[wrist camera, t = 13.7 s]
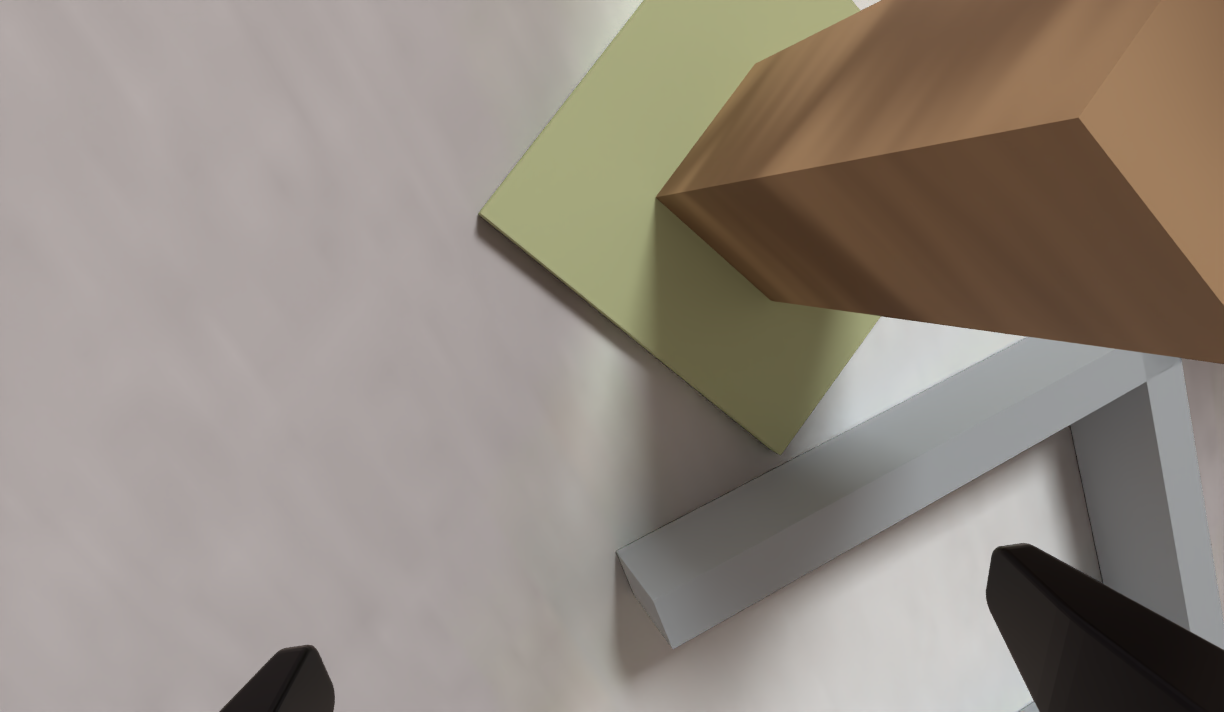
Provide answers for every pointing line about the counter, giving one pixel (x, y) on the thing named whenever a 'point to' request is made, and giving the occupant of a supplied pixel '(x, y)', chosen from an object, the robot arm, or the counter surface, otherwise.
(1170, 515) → the channel
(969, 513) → the counter surface
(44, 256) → the counter surface
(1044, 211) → the walnut block
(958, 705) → the counter surface
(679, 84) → the mat
